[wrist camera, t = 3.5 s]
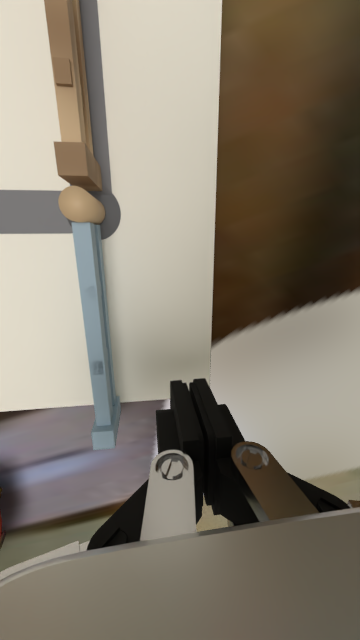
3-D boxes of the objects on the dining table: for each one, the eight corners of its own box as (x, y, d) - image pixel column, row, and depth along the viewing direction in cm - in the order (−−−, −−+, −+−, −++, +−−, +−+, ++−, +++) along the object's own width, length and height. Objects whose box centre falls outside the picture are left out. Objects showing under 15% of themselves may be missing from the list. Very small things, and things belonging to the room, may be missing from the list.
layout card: (224, -145, 11) (227, -157, 11) (208, 393, 19) (209, 396, 19) (-401, -245, 9) (-422, -264, 9) (-122, 418, 17) (-127, 421, 17)
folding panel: (77, 197, 14) (56, 185, 11) (103, 198, 14) (90, 185, 11) (101, 412, 18) (91, 450, 15) (122, 410, 18) (116, 447, 15)
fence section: (50, -96, 11) (-1, -269, 7) (79, -92, 11) (44, -261, 7) (81, 192, 14) (57, 175, 11) (103, 192, 15) (88, 175, 11)
